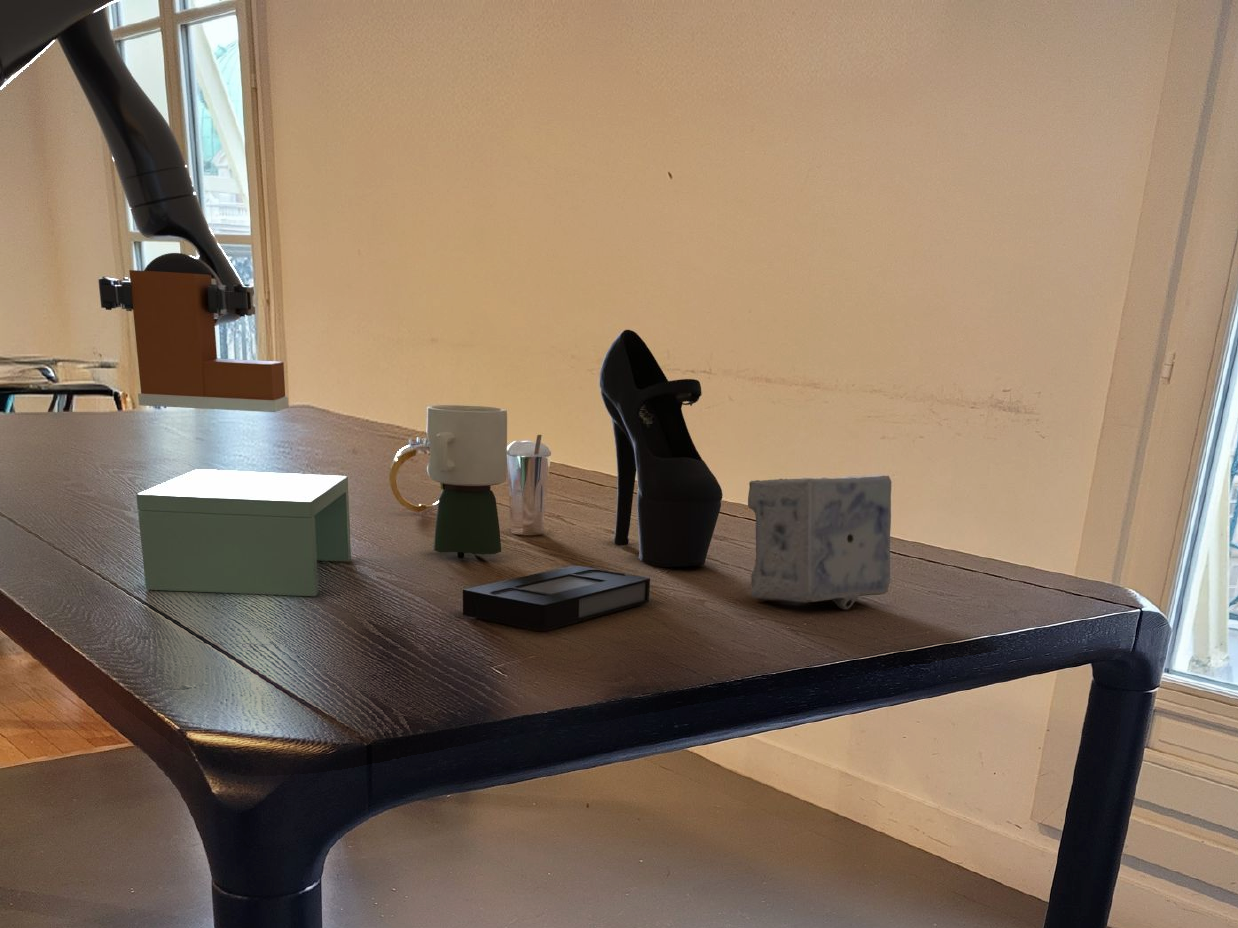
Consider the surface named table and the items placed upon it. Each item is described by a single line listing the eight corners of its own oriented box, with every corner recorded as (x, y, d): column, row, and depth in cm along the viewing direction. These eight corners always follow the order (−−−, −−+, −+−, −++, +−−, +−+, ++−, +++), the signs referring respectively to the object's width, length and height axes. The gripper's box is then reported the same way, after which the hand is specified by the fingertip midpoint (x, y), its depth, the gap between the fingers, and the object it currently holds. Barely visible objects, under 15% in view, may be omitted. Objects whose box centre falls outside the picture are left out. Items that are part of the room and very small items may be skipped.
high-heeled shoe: (680, 578, 113) (694, 335, 106) (574, 542, 128) (580, 327, 120) (751, 572, 118) (770, 338, 110) (641, 538, 132) (651, 330, 124)
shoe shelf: (145, 589, 99) (135, 494, 96) (203, 553, 113) (196, 469, 111) (315, 596, 99) (311, 501, 97) (351, 559, 114) (347, 476, 111)
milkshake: (516, 538, 128) (517, 434, 124) (499, 529, 133) (499, 429, 129) (558, 537, 130) (561, 434, 126) (540, 529, 134) (542, 429, 131)
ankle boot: (138, 405, 114) (125, 269, 109) (157, 400, 119) (146, 271, 114) (275, 412, 114) (268, 277, 110) (288, 407, 120) (282, 278, 115)
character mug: (459, 543, 124) (458, 402, 119) (526, 551, 122) (528, 407, 117) (404, 561, 114) (400, 408, 109) (476, 569, 112) (476, 414, 107)
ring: (454, 512, 142) (453, 437, 139) (455, 517, 139) (455, 440, 136) (390, 511, 141) (388, 435, 138) (390, 515, 138) (388, 438, 135)
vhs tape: (650, 603, 103) (651, 578, 102) (542, 632, 92) (543, 605, 91) (574, 589, 107) (575, 565, 106) (462, 616, 96) (462, 589, 95)
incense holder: (819, 587, 113) (832, 465, 109) (890, 606, 107) (906, 477, 103) (736, 596, 107) (746, 468, 103) (805, 617, 101) (819, 481, 97)
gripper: (101, 248, 122) (75, 244, 107) (257, 258, 126) (253, 254, 111) (109, 333, 125) (86, 340, 110) (262, 340, 129) (259, 347, 114)
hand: (170, 297), depth 111 cm, fingers closed on ankle boot, 6 cm apart
